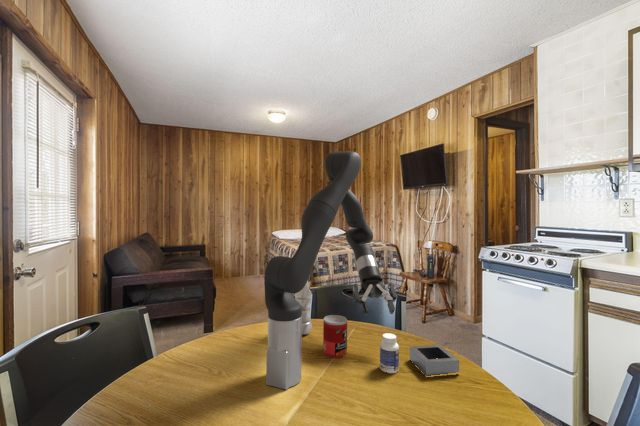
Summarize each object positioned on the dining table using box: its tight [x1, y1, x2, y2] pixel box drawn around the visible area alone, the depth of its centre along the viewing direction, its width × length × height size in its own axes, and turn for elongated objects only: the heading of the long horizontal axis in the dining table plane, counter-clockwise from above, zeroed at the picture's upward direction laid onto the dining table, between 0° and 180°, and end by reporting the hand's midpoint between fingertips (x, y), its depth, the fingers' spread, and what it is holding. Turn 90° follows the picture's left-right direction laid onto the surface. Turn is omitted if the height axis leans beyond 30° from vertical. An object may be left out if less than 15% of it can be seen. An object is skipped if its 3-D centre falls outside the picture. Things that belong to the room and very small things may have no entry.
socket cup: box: [409, 344, 460, 376], centre depth 88 cm, size 10×10×4 cm
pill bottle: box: [379, 332, 400, 374], centre depth 87 cm, size 5×5×10 cm
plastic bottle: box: [294, 280, 313, 336], centre depth 112 cm, size 6×7×20 cm
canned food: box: [322, 314, 348, 359], centre depth 97 cm, size 8×8×11 cm
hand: (379, 313), depth 95 cm, fingers open, 8 cm apart
